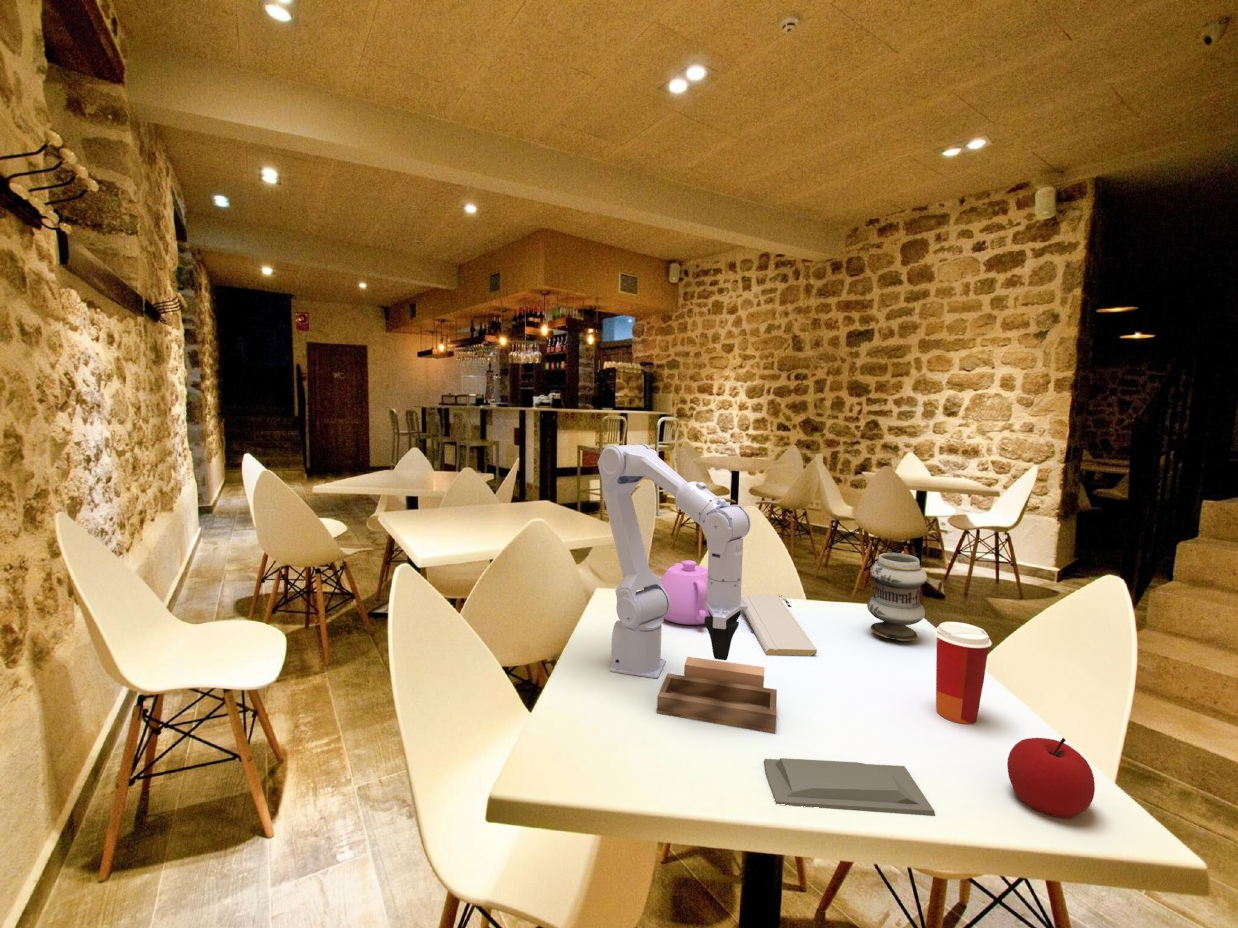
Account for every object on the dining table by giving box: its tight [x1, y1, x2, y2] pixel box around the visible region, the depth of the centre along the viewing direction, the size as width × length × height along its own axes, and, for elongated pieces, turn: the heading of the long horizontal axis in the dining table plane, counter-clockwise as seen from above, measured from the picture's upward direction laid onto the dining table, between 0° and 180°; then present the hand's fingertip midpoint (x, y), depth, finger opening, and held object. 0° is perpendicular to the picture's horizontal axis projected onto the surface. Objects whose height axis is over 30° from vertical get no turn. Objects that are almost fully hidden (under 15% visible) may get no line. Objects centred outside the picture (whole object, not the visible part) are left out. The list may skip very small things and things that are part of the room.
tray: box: [656, 672, 778, 735], centre depth 96 cm, size 19×9×4 cm, turn 74°
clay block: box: [683, 656, 765, 688], centre depth 104 cm, size 14×4×5 cm, turn 74°
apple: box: [1006, 737, 1096, 819], centre depth 74 cm, size 9×9×10 cm
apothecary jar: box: [866, 552, 928, 642], centre depth 132 cm, size 12×12×18 cm
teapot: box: [660, 559, 710, 626], centre depth 141 cm, size 22×22×14 cm
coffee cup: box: [933, 621, 993, 725], centre depth 96 cm, size 8×8×15 cm
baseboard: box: [741, 593, 818, 657], centre depth 134 cm, size 31×3×12 cm
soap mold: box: [763, 757, 936, 817], centre depth 77 cm, size 10×20×4 cm, turn 86°
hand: (721, 654), depth 98 cm, fingers open, 3 cm apart
